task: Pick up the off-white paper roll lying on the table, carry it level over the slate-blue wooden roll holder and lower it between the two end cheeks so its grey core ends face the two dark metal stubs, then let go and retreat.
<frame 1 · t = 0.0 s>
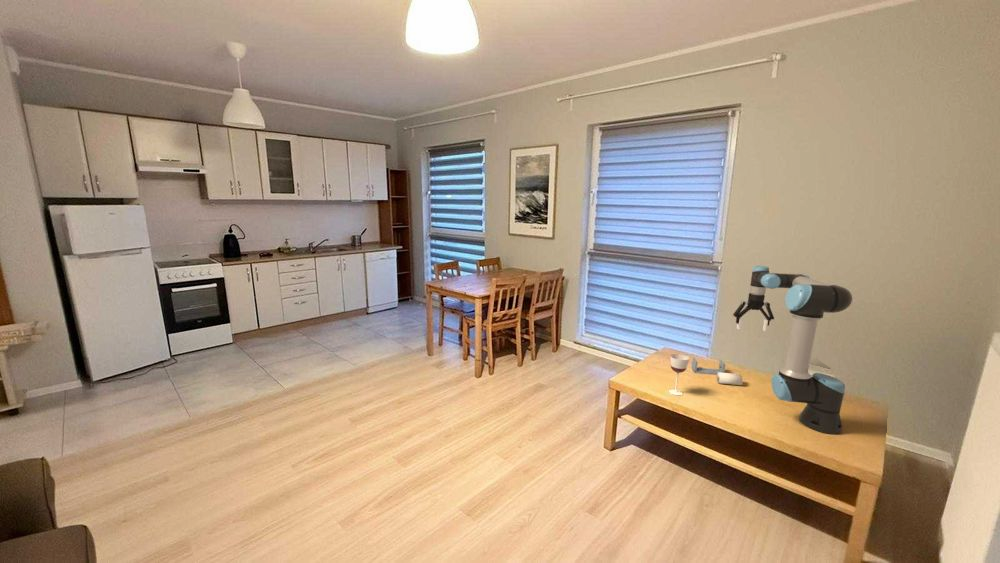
hand: (751, 329, 225), 28 cm above the table, fingers open, 13 cm apart
paper roll: (728, 383, 220), on the table
holder: (707, 371, 235), on the table
wineglass: (675, 392, 208), on the table
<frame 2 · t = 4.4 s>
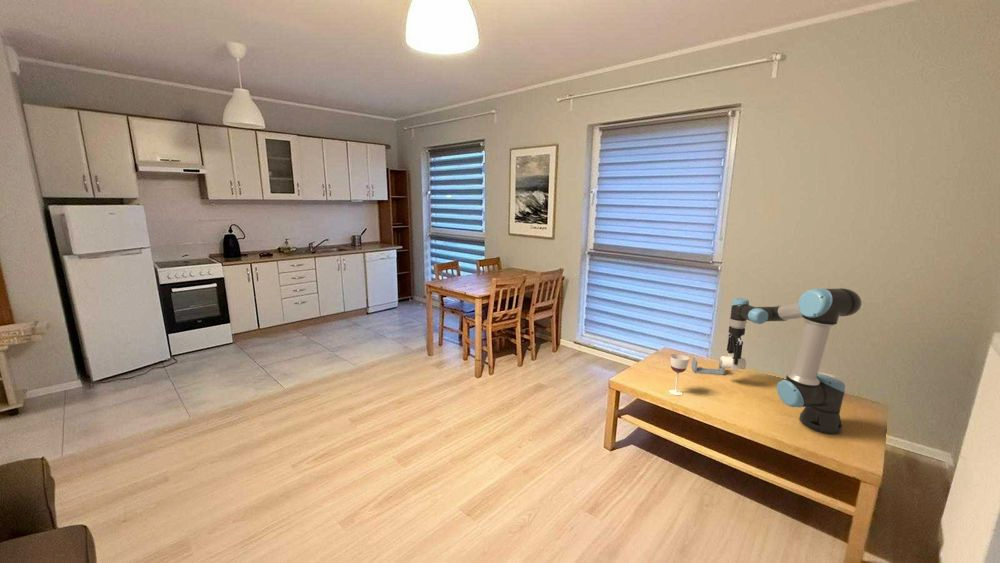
hand: (731, 367, 217), 10 cm above the table, fingers closed on paper roll, 6 cm apart
paper roll: (732, 368, 216), point 10 cm above the table, tilted 21°, touching gripper
everything else where it was.
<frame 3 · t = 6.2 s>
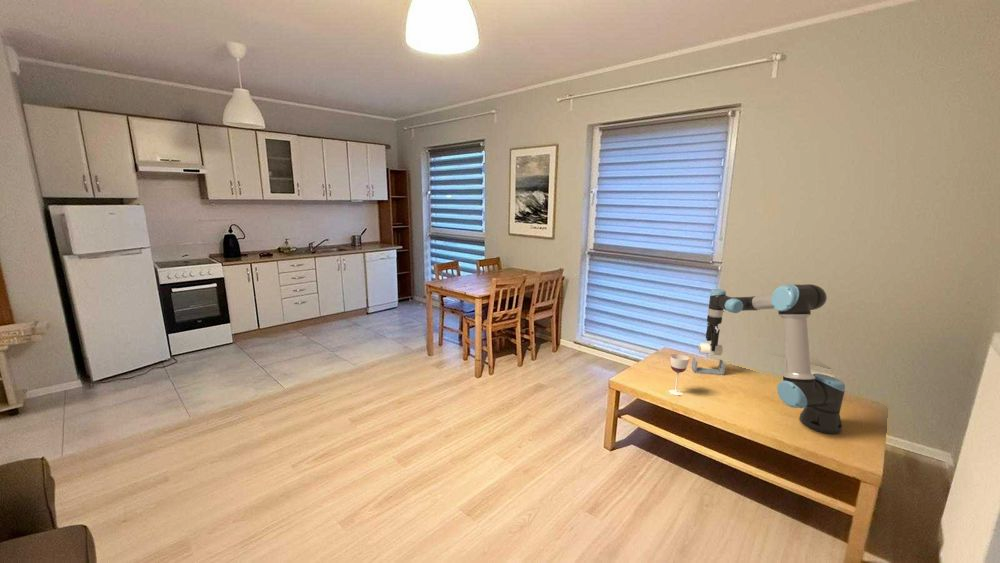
hand: (709, 353, 232), 11 cm above the table, fingers closed on paper roll, 6 cm apart
paper roll: (710, 354, 231), point 11 cm above the table, tilted 19°, touching gripper
everything else where it was.
when the fingers open (1 cm above the table, at t = 8.2 s): paper roll stays where it is, resting on holder.
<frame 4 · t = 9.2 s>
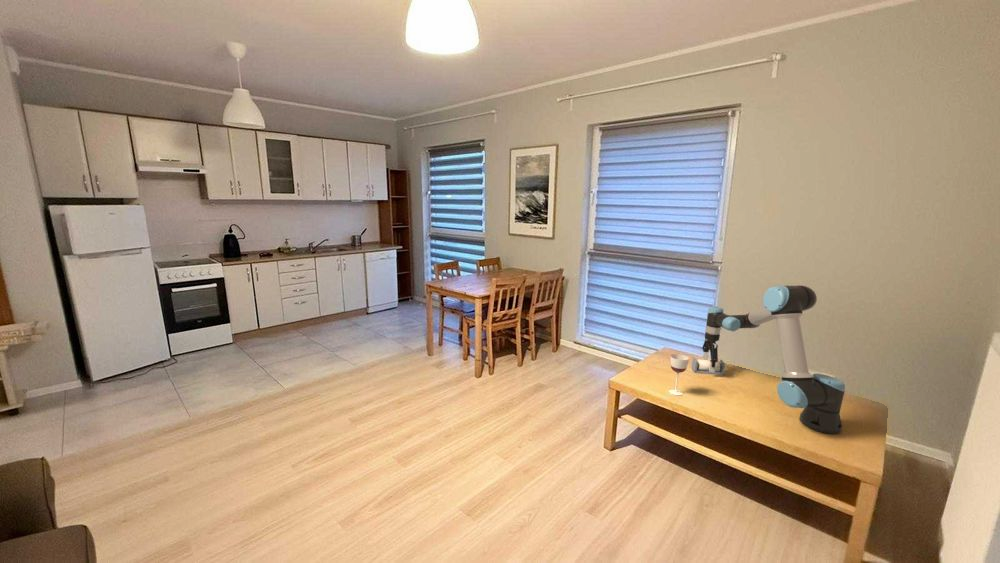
hand: (708, 367, 234), 3 cm above the table, fingers open, 13 cm apart
paper roll: (708, 370, 233), point 1 cm above the table, tilted 19°, touching holder
everything else where it was.
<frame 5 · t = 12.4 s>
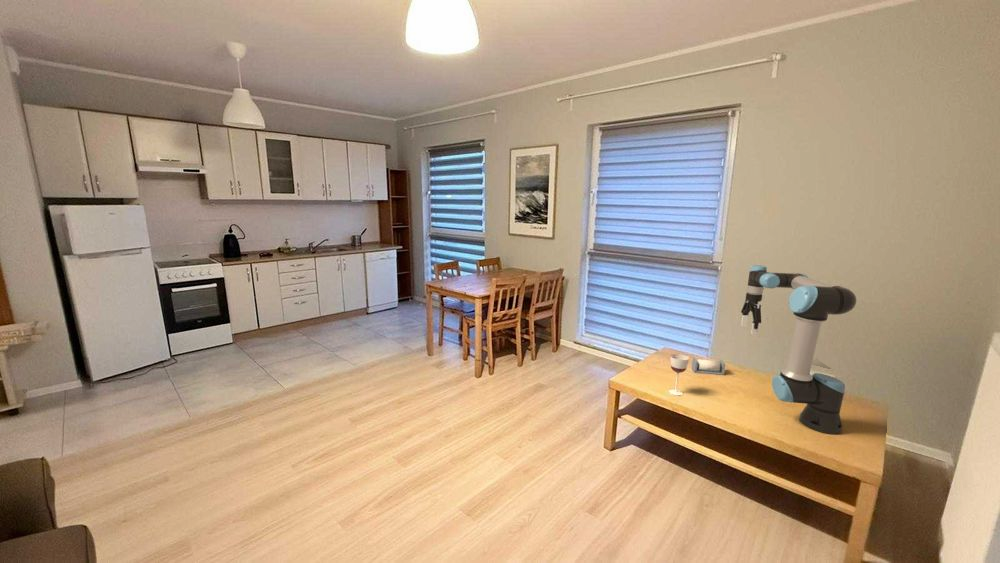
hand: (748, 330, 222), 29 cm above the table, fingers open, 13 cm apart
nothing on the table moved.
at the end: paper roll 1.0 cm off-centre on the holder, point 1.3 cm above the holder's base; paper roll touching holder; the gripper is holding nothing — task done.
